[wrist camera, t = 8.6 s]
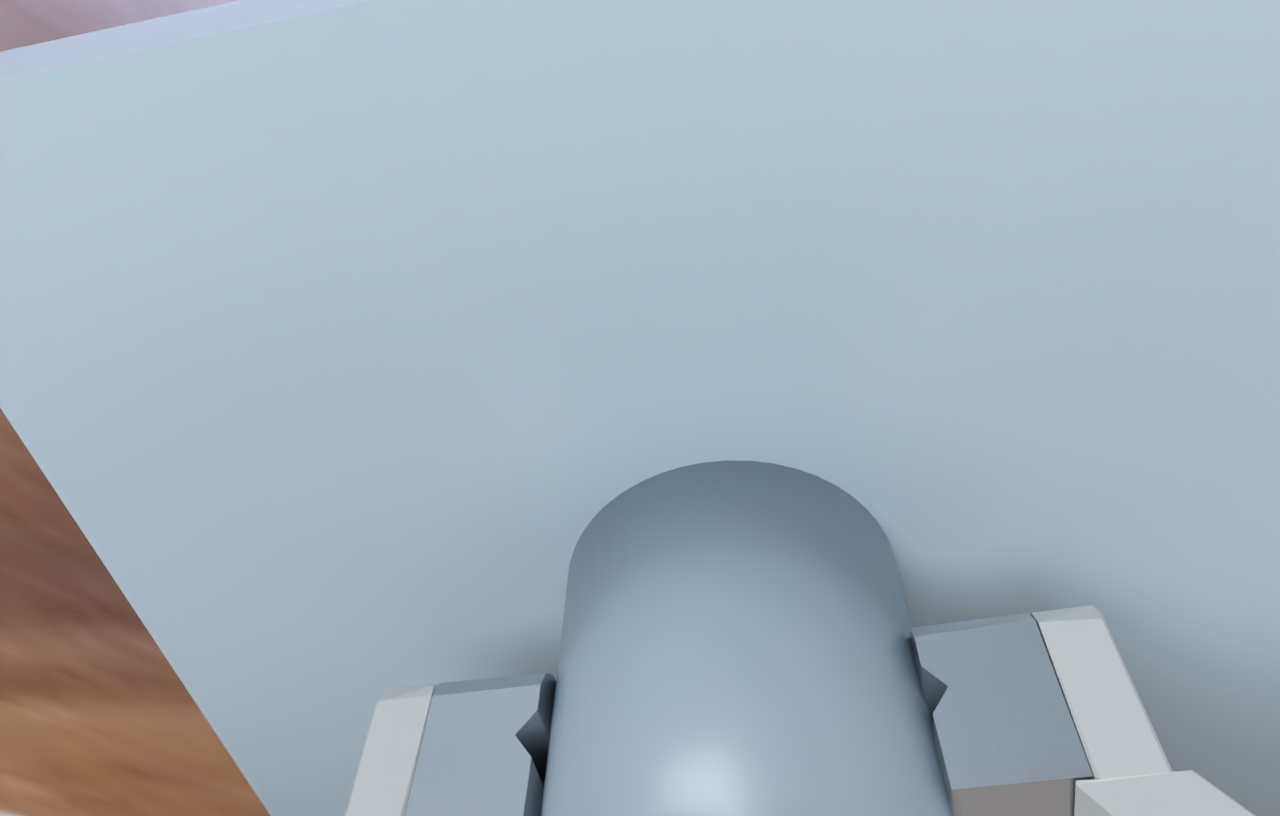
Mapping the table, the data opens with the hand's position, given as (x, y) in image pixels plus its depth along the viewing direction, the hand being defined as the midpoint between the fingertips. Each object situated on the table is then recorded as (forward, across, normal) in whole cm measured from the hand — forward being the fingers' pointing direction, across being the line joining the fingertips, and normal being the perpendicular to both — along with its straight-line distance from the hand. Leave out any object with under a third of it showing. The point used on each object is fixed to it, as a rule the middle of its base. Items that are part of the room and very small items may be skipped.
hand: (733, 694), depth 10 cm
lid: (+2, 0, 0) cm, 2 cm away
